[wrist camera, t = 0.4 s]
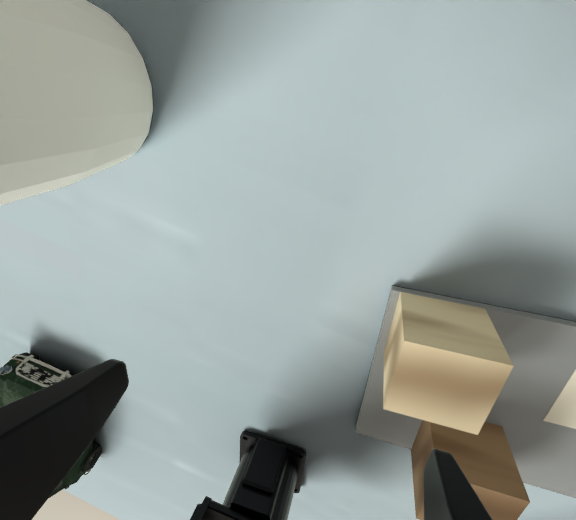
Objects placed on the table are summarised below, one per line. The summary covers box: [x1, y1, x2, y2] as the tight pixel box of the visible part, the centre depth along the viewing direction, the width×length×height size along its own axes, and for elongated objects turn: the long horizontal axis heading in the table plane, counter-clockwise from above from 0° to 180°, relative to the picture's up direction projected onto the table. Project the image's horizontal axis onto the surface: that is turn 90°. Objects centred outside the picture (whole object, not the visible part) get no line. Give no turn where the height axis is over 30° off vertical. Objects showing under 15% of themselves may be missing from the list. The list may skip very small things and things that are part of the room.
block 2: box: [411, 420, 530, 520], centre depth 22 cm, size 5×5×5 cm
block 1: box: [383, 292, 514, 435], centre depth 19 cm, size 5×5×5 cm
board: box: [355, 286, 576, 498], centre depth 22 cm, size 14×22×1 cm, turn 86°
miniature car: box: [0, 353, 102, 498], centre depth 36 cm, size 9×18×8 cm, turn 166°
